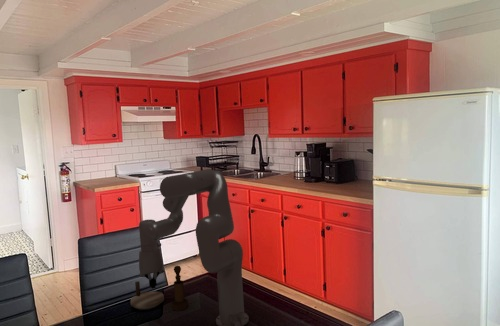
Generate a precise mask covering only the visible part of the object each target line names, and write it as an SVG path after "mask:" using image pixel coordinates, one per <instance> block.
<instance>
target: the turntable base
mask: <svg viewBox="0 0 500 326" xmlns="http://www.w3.org/2000/svg"><path fill="white" fill-rule="evenodd" d="M159 305H160V304H158V305H156V306H153V307H149V308H136V309H137V310H138V311H149V310H153V309H155V308H157V307H158V306H159Z"/></svg>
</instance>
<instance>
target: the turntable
mask: <svg viewBox="0 0 500 326" xmlns="http://www.w3.org/2000/svg"><path fill="white" fill-rule="evenodd" d="M134 284H135V295H134V296H132V297H131V299H130V306H131V307H133V308H135V309H137V308H149V307H153V306H156V305H158V304H159V305H160V304H162V303H163V302H164V300H165V297H164V294H163V292H160V291H156V290H155V291H145V292H141V283H140V281H135V283H134ZM159 305H158V306H159Z"/></svg>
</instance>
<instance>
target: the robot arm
mask: <svg viewBox="0 0 500 326" xmlns="http://www.w3.org/2000/svg"><path fill="white" fill-rule="evenodd" d="M159 191H160V194H161V196H162V197H164V198H163V201H162V206H163V209H165V210H166V211H167V212H169V213H170V214H169V215H168V217H167V218H164V219H161V220H158V221H156V220H155V219H144V220H141V221H139V223H138V229H139V230H138V231H139V239H140V240H139V241H140V250H139V254H138V268H139V269H138V271H139V277H140V278H146V279H147V280H148V284H149V287H150V288H151V289H153V290H154V289H156V286H157V285H158V284H157V279H158V277H159V275H161V274H164V273H165V270H164V261H163V255H162V251H161V248H160V247H162V242H159V240H160V239H163V238H166V237H169V236H172V235H174V234H175V233H176V232H177V231H178V230H179V229H180V227H181V225H182V223H183V220H184V212H183V207H184V206H185V204H186V202H187V200H188V198H189V197H190V196H194V195H198V194H202V193H206V192H207V193H208V195H207V201H206V205H207V206H206V207H207V210H208V215H207V216H205V217H202V218H200V219H199V220H198V221H197V223H196V227H195V237H196V243H197V248H198V254H199V258H200V262H201V265H202V267H203V268H204V269H205V271H206V272H208V273H210V274H216V273H217V275H216V278H217V279H216V281H217V294H218V295H217V296H218V297H217V298H218V310H219V311H218V312H219V315H218V316H217V317H216V318H215V324H216V325H217V326H245V325H247V324H248V323H249V321H250V320H249V319H250V317H249V315H248V314H247V313H246V312H245V305H244V290H243V289H244V288H243V287H244V286H243V258H244V251H243V246H242V244H241V243H240V242H239V241H238V240H235V239H232V238H231V239H229V238H228V239H225V238H227V237H228V236H230V235H231V234H233V232H234V230H235V229H234V228H235V225H234V219H233V214H232V208H231V204H230V200H229V191H228V183H227V180H226V178H225V176H224V175H223V174H222V173H221V172H220V171H217V170H214V169H204V170H198V171H191V172H186V173H180V174H176V175H170V176H166V177H164V178H163V179H162V180H161V182H160V184H159ZM222 239H225V240H222ZM219 240H222V241H220V242H219ZM151 275H152V276H151Z"/></svg>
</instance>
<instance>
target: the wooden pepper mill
mask: <svg viewBox="0 0 500 326" xmlns="http://www.w3.org/2000/svg"><path fill="white" fill-rule="evenodd" d="M173 271H174V273H175V276H174V277H175V280H174V282H173V290H174V300H173V301H172V305H171V306H172V307H171V308H172V310H174V311H176V312H180V311H181V312H182V311H184V310H187V309H188V307H189V303H188V300H187V298H185V291H184V289H185V288H184V281H183V280H181V275H180V273H181V272H182V267H181V266H180V265H175V266H174V267H173Z"/></svg>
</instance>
